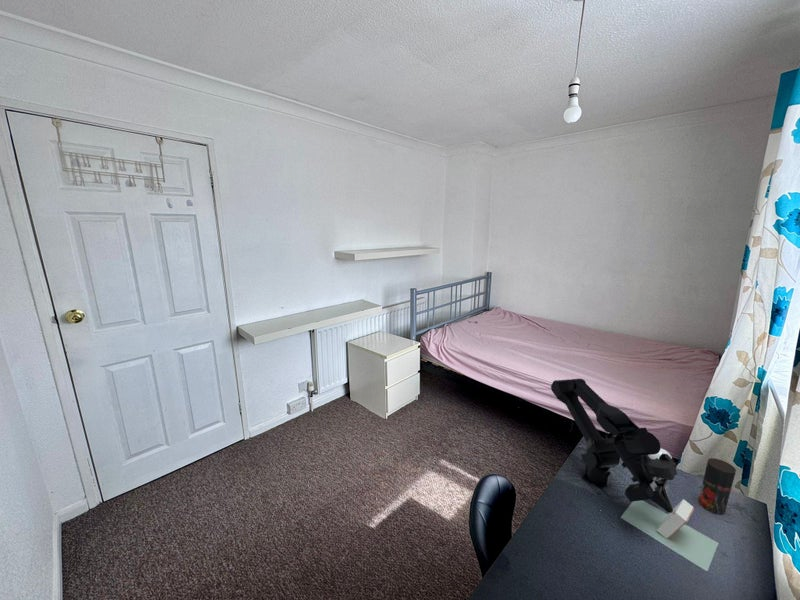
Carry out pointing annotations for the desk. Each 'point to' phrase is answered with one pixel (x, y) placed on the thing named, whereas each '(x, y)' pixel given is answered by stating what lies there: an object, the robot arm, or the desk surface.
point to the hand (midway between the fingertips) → (671, 512)
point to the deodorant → (716, 486)
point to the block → (675, 519)
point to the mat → (681, 542)
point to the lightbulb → (659, 454)
